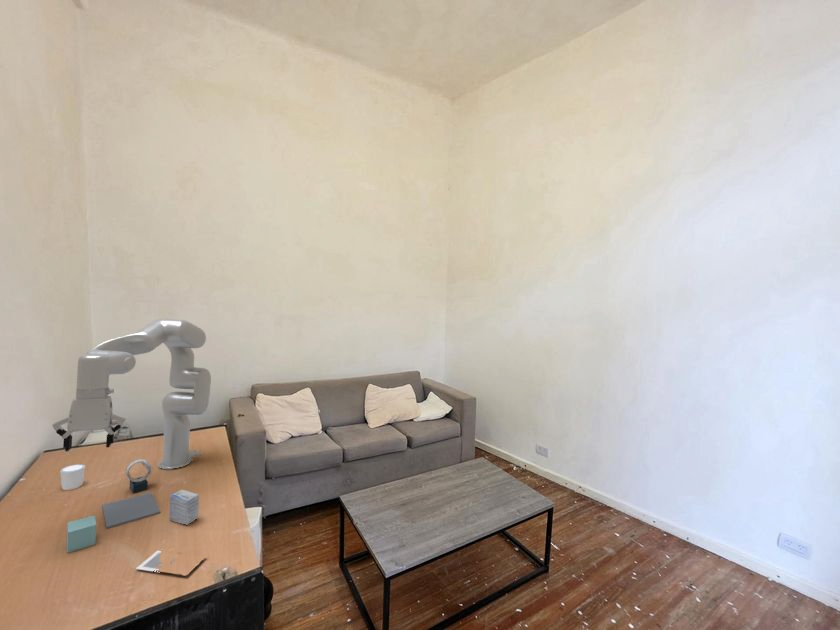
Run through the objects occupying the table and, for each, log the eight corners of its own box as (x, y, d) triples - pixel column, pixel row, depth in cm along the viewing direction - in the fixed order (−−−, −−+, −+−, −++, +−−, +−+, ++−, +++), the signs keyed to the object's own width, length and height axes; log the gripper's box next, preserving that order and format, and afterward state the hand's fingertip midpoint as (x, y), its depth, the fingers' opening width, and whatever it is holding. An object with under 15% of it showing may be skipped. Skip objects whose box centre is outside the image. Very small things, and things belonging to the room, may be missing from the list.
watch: (153, 487, 141) (154, 459, 141) (127, 495, 135) (128, 465, 135) (149, 482, 145) (150, 454, 145) (123, 489, 139) (124, 460, 138)
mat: (151, 493, 137) (151, 492, 137) (160, 513, 126) (160, 511, 126) (102, 506, 127) (102, 504, 127) (106, 528, 116) (106, 526, 116)
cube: (94, 534, 113) (94, 515, 113) (95, 544, 109) (96, 524, 109) (66, 542, 109) (67, 522, 109) (67, 553, 105) (68, 532, 104)
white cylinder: (72, 491, 135) (73, 472, 135) (54, 490, 135) (54, 471, 135) (89, 482, 142) (90, 464, 142) (72, 481, 142) (72, 463, 142)
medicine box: (198, 519, 124) (199, 494, 123) (186, 526, 120) (187, 500, 119) (181, 513, 126) (182, 488, 126) (168, 520, 122) (169, 495, 122)
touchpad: (186, 580, 98) (187, 572, 98) (135, 572, 100) (135, 564, 100) (206, 560, 106) (207, 552, 106) (158, 553, 107) (159, 546, 107)
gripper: (129, 389, 123) (126, 440, 123) (59, 392, 115) (55, 447, 115) (124, 394, 117) (121, 448, 117) (50, 397, 108) (46, 456, 108)
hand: (88, 447), depth 116 cm, fingers open, 9 cm apart
